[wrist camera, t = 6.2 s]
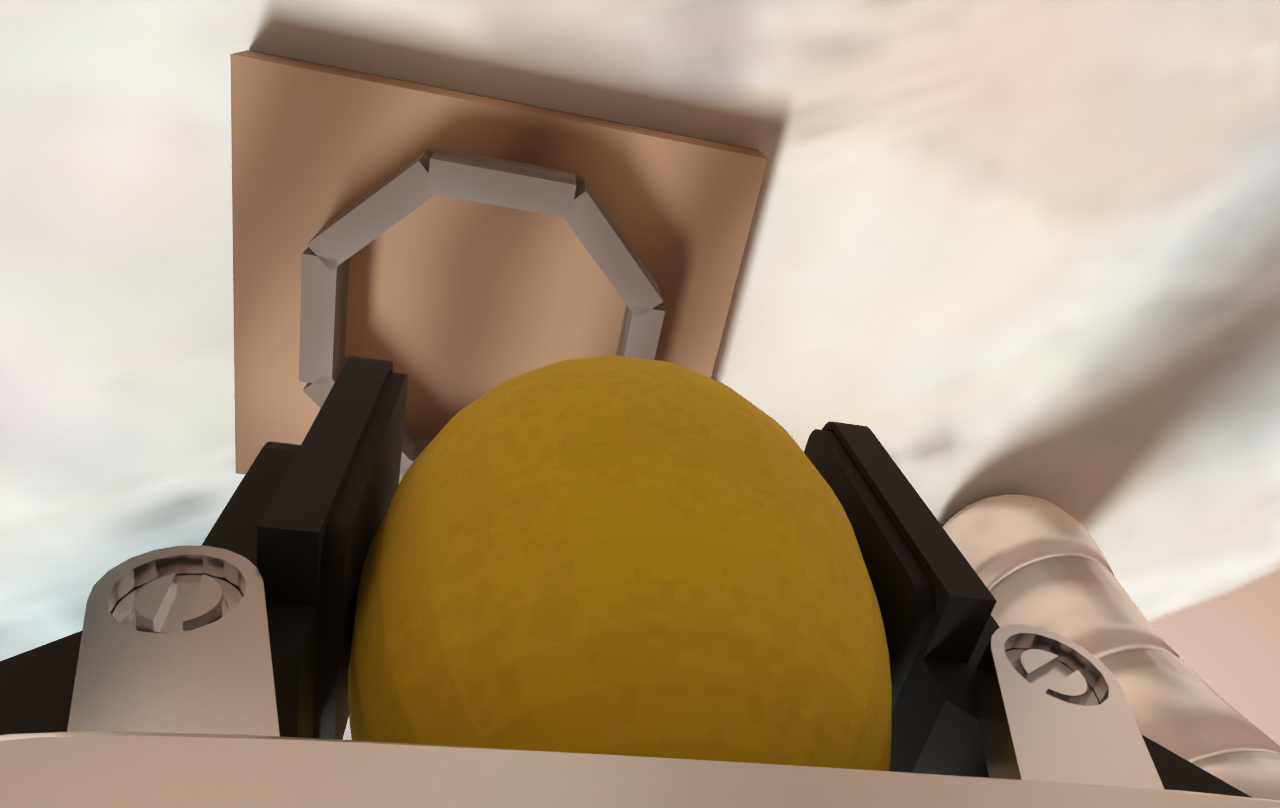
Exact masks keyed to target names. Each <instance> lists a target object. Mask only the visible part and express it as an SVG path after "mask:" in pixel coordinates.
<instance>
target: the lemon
mask: <svg viewBox="0 0 1280 808" xmlns="http://www.w3.org/2000/svg"><path fill="white" fill-rule="evenodd" d="M348 700H349V717H350V729H351V736H352V740H353V741H371V742H389V743H408V744H426V745H444V746H463V747H481V748H499V749H518V750H537V751H554V752H571V753H587V754H604V755H621V756H639V757H656V758H673V759H691V760H708V761H725V762H743V763H760V764H777V765H793V766H810V767H826V768H842V769H858V770H875V771H889V768H890V757H891V734H892V685H891V673H890V662H889V652H888V646H887V641H886V635H885V629H884V624H883V620H882V616H881V612H880V608H879V604H878V600H877V597H876V594H875V591H874V588H873V585H872V583H871V580H870V577H869V574H868V571H867V568H866V565H865V562H864V560H863V557H862V554H861V551H860V548H859V545H858V542H857V540H856V537H855V534H854V531H853V528H852V525H851V523H850V521H849V519H848V517H847V515H846V513H845V511H844V509H843V507H842V505H841V503H840V501H839V500H838V498H837V497H836V495H835V494H834V492H833V490H832V489H831V487H830V486H829V485H828V483H827V482H826V481H825V479H824V478H823V477H822V476H821V474H820V473H819V472H818V470H817V469H816V468H815V466H814V465H813V464H812V463H811V461H810V460H809V459H808V457H807V456H806V455H805V454H804V452H803V451H802V450H801V448H800V447H799V446H798V445H797V443H796V442H795V441H794V440H793V439H792V437H791V436H790V435H789V434H788V432H787V431H786V430H785V429H784V428H783V427H781V426H780V425H779V424H778V423H777V422H776V421H775V420H774V419H772V418H771V417H770V416H768V415H767V414H765V413H764V412H763V411H761V410H760V409H759V408H757V407H756V406H754V405H753V404H752V403H750V402H749V401H747V400H746V399H745V398H743V397H742V396H741V395H739V394H738V393H736V392H735V391H734V390H732V389H731V388H729V387H728V386H726V385H724V384H723V383H721V382H719V381H717V380H714V379H712V378H709V377H706V376H704V375H701V374H699V373H696V372H694V371H691V370H688V369H686V368H683V367H681V366H678V365H675V364H673V363H670V362H665V361H658V360H650V359H642V358H634V357H626V356H618V355H607V356H598V357H589V358H580V359H571V360H562V361H558V362H555V363H553V364H550V365H547V366H544V367H541V368H538V369H535V370H533V371H530V372H527V373H524V374H521V375H518V376H516V377H513V378H510V379H508V380H506V381H504V382H503V383H501V384H500V385H498V386H497V387H495V388H493V389H492V390H490V391H489V392H487V393H486V394H484V395H483V396H481V397H480V398H478V399H477V400H475V401H474V402H472V403H471V404H469V405H468V406H466V407H465V408H463V409H462V410H460V411H459V412H458V413H457V414H456V415H455V416H454V417H453V418H452V419H451V420H450V421H449V422H448V423H447V424H446V425H445V426H444V428H443V429H442V430H441V431H440V432H439V433H438V434H437V435H436V437H435V438H434V439H433V440H432V441H431V442H430V443H429V444H428V446H427V447H426V448H425V449H424V450H423V451H422V452H421V453H420V455H419V456H418V457H417V458H416V459H415V460H414V462H413V463H412V464H411V466H410V467H409V469H408V470H407V471H406V473H405V474H404V476H403V478H402V480H401V482H400V484H399V486H398V488H397V490H396V492H395V494H394V496H393V498H392V500H391V502H390V504H389V506H388V508H387V510H386V513H385V515H384V517H383V519H382V521H381V523H380V525H379V527H378V529H377V531H376V533H375V536H374V538H373V540H372V542H371V545H370V547H369V550H368V553H367V556H366V559H365V561H364V565H363V569H362V573H361V578H360V582H359V587H358V595H357V603H356V611H355V619H354V627H353V635H352V643H351V652H350V661H349V683H348Z"/></svg>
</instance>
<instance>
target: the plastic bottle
mask: <svg viewBox="0 0 1280 808" xmlns="http://www.w3.org/2000/svg"><path fill="white" fill-rule="evenodd" d="M943 529H944V530H945V531H946V533H947V534H948V535H949V537H950V538H951V540H952V541H953V542H954V544H955V545H956V546H957V548H958V549H959V550H960V552H961V553H962V554H963V556H964V557H965V558H966V560H967V561H968V563H969V564H970V565H971V567H972V568H973V569H974V571H975V572H976V573H977V575H978V576H979V577H980V579H981V580H982V582H983V583H984V584H985V586H986V587H987V588H988V590H989V591H990V592H991V594H992V595H993V596H994V598H995V599H996V601H997V602H996V604H995V606H994V608H993V610H992V612H991V615H992V617H993V618H994V620H995V621H996V623H997V624H998V625H999V627H1000V628H1001V627H1004V626H1006V625H1024V624H1025V625H1029V626H1034V627H1039V628H1043V629H1046V630H1048V631H1051V632H1053V633H1056V634H1059V635H1061V636H1063V637H1065V638H1067V639H1069V640H1071V641H1072V642H1074V643H1076V644H1078V645H1080V646H1082V647H1083V648H1084V649H1086V650H1087V651H1088V652H1090V653H1091V654H1092V655H1094V656H1095V657H1096V658H1098V659H1099V660H1100V661H1101V662H1102V663H1103V664H1104V665H1105V666H1106V667H1107V668H1108V669H1109V670H1110V671H1111V672H1112V673H1113V675H1114V676H1115V678H1116V680H1117V681H1118V683H1119V684H1120V686H1121V688H1122V690H1123V692H1124V695H1125V697H1126V699H1127V702H1128V704H1129V706H1130V709H1131V711H1132V714H1133V716H1134V718H1135V721H1136V723H1137V725H1138V728H1139V730H1140V732H1141V734H1142V735H1144V736H1145V737H1147V738H1149V739H1151V740H1152V741H1154V742H1156V743H1158V744H1159V745H1161V746H1163V747H1165V748H1166V749H1168V750H1170V751H1172V752H1173V753H1175V754H1177V755H1179V756H1180V757H1182V758H1184V759H1186V760H1187V761H1189V762H1191V763H1193V764H1194V765H1196V766H1198V767H1200V768H1202V769H1203V770H1205V771H1207V772H1209V773H1210V774H1212V775H1214V776H1216V777H1217V778H1219V779H1221V780H1223V781H1224V782H1226V783H1228V784H1230V785H1231V786H1233V787H1235V788H1237V789H1238V790H1240V791H1242V792H1244V793H1245V794H1247V795H1249V796H1251V797H1252V798H1260V799H1270V800H1280V746H1279V745H1277V744H1276V743H1275V742H1274V741H1273V740H1271V739H1270V738H1269V737H1268V736H1267V735H1265V734H1264V733H1263V732H1262V731H1261V730H1259V729H1258V728H1257V727H1256V726H1255V725H1253V724H1252V723H1251V722H1250V721H1249V720H1248V719H1246V718H1245V717H1244V716H1243V715H1242V714H1240V713H1239V712H1238V711H1237V710H1235V709H1234V708H1233V707H1232V706H1231V705H1230V704H1228V703H1227V702H1226V701H1224V700H1223V699H1222V698H1221V697H1220V696H1219V695H1218V694H1217V693H1216V692H1215V691H1214V690H1213V689H1212V688H1211V687H1210V686H1209V685H1208V684H1206V682H1205V681H1204V680H1203V679H1201V677H1200V676H1199V675H1198V674H1197V673H1196V672H1195V671H1193V669H1192V668H1191V667H1190V666H1188V665H1187V664H1186V663H1185V662H1184V661H1183V660H1182V659H1180V657H1179V655H1177V654H1176V652H1175V651H1173V650H1172V649H1171V648H1170V647H1169V646H1168V645H1167V644H1166V643H1165V642H1164V641H1163V640H1162V639H1161V638H1160V637H1159V635H1158V634H1157V633H1156V631H1155V630H1154V629H1153V627H1152V626H1151V625H1150V623H1149V622H1148V621H1147V619H1146V618H1145V617H1144V615H1143V614H1142V613H1141V611H1140V610H1139V609H1138V607H1137V606H1136V605H1135V603H1134V602H1133V601H1132V599H1131V598H1130V597H1129V595H1128V594H1127V593H1126V591H1125V590H1124V589H1123V587H1122V586H1121V585H1120V583H1119V582H1118V581H1117V579H1116V578H1115V577H1114V574H1113V572H1112V570H1111V568H1110V566H1109V564H1108V562H1107V561H1106V559H1105V557H1104V555H1103V553H1102V551H1101V550H1100V548H1099V547H1098V545H1097V544H1096V543H1095V541H1094V540H1093V538H1092V537H1091V535H1090V534H1089V532H1088V531H1087V529H1086V528H1085V527H1084V526H1083V525H1082V524H1081V523H1080V522H1079V521H1078V520H1076V519H1075V518H1073V517H1072V516H1071V515H1069V514H1068V513H1066V512H1065V511H1063V510H1062V509H1060V508H1059V507H1058V506H1056V505H1054V504H1053V503H1051V502H1049V501H1047V500H1045V499H1042V498H1038V497H1035V496H1027V495H1011V494H1007V495H996V496H992V497H988V498H984V499H982V500H979V501H977V502H974V503H972V504H970V505H968V506H967V507H965V508H963V509H962V510H960V511H959V512H958V513H956V514H955V515H954V516H953V517H951V518H950V519H949V520H948V521H947V522H946V523H945V525H944V526H943Z"/></svg>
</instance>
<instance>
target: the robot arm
mask: <svg viewBox="0 0 1280 808" xmlns="http://www.w3.org/2000/svg"><path fill="white" fill-rule="evenodd" d="M407 385H408V375H407V374H403V373H395V372H394V369H393V362H392V361H386V360H379V359H371V358H364V357H357V356H349V358H348V359H347V361H346V363H345V365H344V367H343V368H342V370H341V372H340V374H339V376H338V378H337V379H336V381H335V383H334V385H333V387H332V389H331V391H330V392H329V394H328V396H327V398H326V400H325V402H324V404H323V405H322V407H321V409H320V411H319V413H318V415H317V416H316V418H315V420H314V422H313V424H312V426H311V428H310V429H309V431H308V433H307V435H306V437H305V439H304V440H303V442H302V444H301V445H297V444H289V443H280V442H272V441H271V442H267V443H266V444H265V445H264V446H263V448H262V449H261V451H260V452H259V454H258V456H257V457H256V459H255V460H254V462H253V464H252V465H251V467H250V468H249V470H248V472H247V473H246V475H245V476H244V478H243V480H242V481H241V483H240V484H239V486H238V488H237V489H236V491H235V492H234V494H233V496H232V497H231V499H230V501H229V502H228V504H227V505H226V507H225V509H224V510H223V512H222V513H221V515H220V517H219V518H218V520H217V521H216V523H215V525H214V526H213V528H212V529H211V531H210V533H209V534H208V536H207V537H206V539H205V541H204V542H203V544H202V546H176V547H170V548H164V549H158V550H153V551H150V552H147V553H144V554H142V555H139V556H136V557H133V558H130V559H128V560H126V561H125V562H123V563H121V564H120V565H118V566H116V567H114V568H113V569H111V570H109V571H108V572H107V573H106V574H105V575H104V576H103V577H102V578H101V579H100V580H99V581H98V582H97V583H96V584H95V585H94V586H93V589H92V591H91V593H90V596H89V598H88V600H87V604H86V611H85V617H84V624H83V631H80V632H78V633H75V634H72V635H70V636H67V637H64V638H62V639H59V640H56V641H54V642H51V643H48V644H46V645H43V646H40V647H38V648H35V649H32V650H30V651H27V652H24V653H22V654H19V655H16V656H14V657H11V658H8V659H6V660H3V661H1V662H0V808H1280V800H1270V799H1260V798H1252V797H1251V796H1249V795H1247V794H1245V793H1244V792H1242V791H1240V790H1238V789H1237V788H1235V787H1233V786H1231V785H1230V784H1228V783H1226V782H1224V781H1223V780H1221V779H1219V778H1217V777H1216V776H1214V775H1212V774H1210V773H1209V772H1207V771H1205V770H1203V769H1202V768H1200V767H1198V766H1196V765H1194V764H1193V763H1191V762H1189V761H1187V760H1186V759H1184V758H1182V757H1180V756H1179V755H1177V754H1175V753H1173V752H1172V751H1170V750H1168V749H1166V748H1165V747H1163V746H1161V745H1159V744H1158V743H1156V742H1154V741H1152V740H1151V739H1149V738H1147V737H1145V736H1144V735H1142V734H1141V732H1140V730H1139V728H1138V725H1137V723H1136V721H1135V718H1134V716H1133V714H1132V711H1131V709H1130V706H1129V704H1128V702H1127V699H1126V697H1125V695H1124V692H1123V690H1122V688H1121V686H1120V684H1119V683H1118V681H1117V680H1116V678H1115V676H1114V675H1113V673H1112V672H1111V671H1110V670H1109V669H1108V668H1107V667H1106V666H1105V665H1104V664H1103V663H1102V662H1101V661H1100V660H1099V659H1098V658H1096V657H1095V656H1094V655H1092V654H1091V653H1090V652H1088V651H1087V650H1086V649H1084V648H1083V647H1082V646H1080V645H1078V644H1076V643H1074V642H1072V641H1071V640H1069V639H1067V638H1065V637H1063V636H1061V635H1059V634H1056V633H1053V632H1051V631H1048V630H1046V629H1043V628H1039V627H1034V626H1029V625H1025V624H1024V625H1006V626H1004V627H1001V628H1000V627H999V625H998V624H997V623H996V621H995V620H994V618H993V617H992V615H991V612H992V610H993V608H994V606H995V604H996V602H997V601H996V599H995V598H994V596H993V595H992V594H991V592H990V591H989V590H988V588H987V587H986V586H985V584H984V583H983V582H982V580H981V579H980V577H979V576H978V575H977V573H976V572H975V571H974V569H973V568H972V567H971V565H970V564H969V563H968V561H967V560H966V558H965V557H964V556H963V554H962V553H961V552H960V550H959V549H958V548H957V546H956V545H955V544H954V542H953V541H952V540H951V538H950V537H949V535H948V534H947V533H946V531H945V530H944V529H943V527H942V526H941V525H940V523H939V522H938V521H937V519H936V518H935V516H934V515H933V514H932V512H931V511H930V510H929V508H928V507H927V506H926V504H925V503H924V502H923V500H922V499H921V497H920V496H919V495H918V493H917V492H916V491H915V489H914V488H913V487H912V485H911V484H910V483H909V481H908V480H907V478H906V477H905V476H904V474H903V473H902V472H901V470H900V469H899V468H898V466H897V465H896V464H895V462H894V461H893V460H892V458H891V457H890V455H889V454H888V453H887V451H886V450H885V449H884V447H883V446H882V445H881V443H880V442H879V441H878V439H877V438H876V436H875V435H874V434H873V432H872V431H871V430H870V429H869V428H868V427H867V426H859V425H852V424H845V423H838V422H828V423H827V424H825V426H824V427H823V429H822V430H816V429H815V430H814V431H812V433H811V434H810V436H809V439H808V442H807V445H806V448H805V451H804V454H805V455H806V456H807V457H808V459H809V460H810V461H811V463H812V464H813V465H814V466H815V468H816V469H817V470H818V472H819V473H820V474H821V476H822V477H823V478H824V479H825V481H826V482H827V483H828V485H829V486H830V487H831V489H832V490H833V492H834V494H835V495H836V497H837V498H838V500H839V501H840V503H841V505H842V507H843V509H844V511H845V513H846V515H847V517H848V519H849V521H850V523H851V525H852V528H853V531H854V534H855V537H856V540H857V542H858V545H859V548H860V551H861V554H862V557H863V560H864V562H865V565H866V568H867V571H868V574H869V577H870V580H871V583H872V585H873V588H874V591H875V594H876V597H877V600H878V604H879V608H880V612H881V616H882V620H883V624H884V629H885V635H886V641H887V646H888V652H889V662H890V673H891V685H892V734H891V757H890V768H889V771H875V770H858V769H842V768H826V767H810V766H793V765H777V764H760V763H743V762H725V761H708V760H691V759H673V758H656V757H639V756H621V755H604V754H587V753H571V752H554V751H537V750H518V749H499V748H481V747H463V746H444V745H426V744H408V743H389V742H371V741H353V740H342V739H343V735H344V731H345V728H346V724H347V720H348V717H349V700H348V683H349V661H350V652H351V643H352V635H353V627H354V619H355V611H356V603H357V595H358V587H359V582H360V578H361V573H362V569H363V565H364V561H365V559H366V556H367V553H368V550H369V547H370V545H371V542H372V540H373V538H374V536H375V533H376V531H377V529H378V527H379V525H380V523H381V521H382V519H383V517H384V515H385V513H386V510H387V508H388V506H389V504H390V502H391V500H392V498H393V496H394V494H395V492H396V490H397V488H398V486H399V477H400V465H401V454H402V443H403V431H404V420H405V408H406V397H407Z"/></svg>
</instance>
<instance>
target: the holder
mask: <svg viewBox="0 0 1280 808" xmlns="http://www.w3.org/2000/svg"><path fill="white" fill-rule="evenodd" d="M231 121H232V202H233V283H234V364H235V445H236V473H238V474H246V473H247V472H248V470H249V468H250V467H251V465H252V464H253V462H254V460H255V459H256V457H257V456H258V454H259V452H260V451H261V449H262V448H263V446H264V445H265V444H266V443H267V442H271V441H272V442H280V443H289V444H297V445H301V444H302V442H303V440H304V439H305V437H306V435H307V433H308V431H309V429H310V428H311V426H312V424H313V422H314V420H315V418H316V416H317V415H318V413H319V411H320V409H321V407H322V405H323V404H324V402H325V400H326V398H327V396H328V394H329V392H330V391H331V389H332V387H333V385H334V383H335V381H336V379H337V378H338V376H339V374H340V372H341V370H342V368H343V367H344V365H345V363H346V361H347V359H348V358H349V356H357V357H364V358H371V359H379V360H386V361H392V362H393V369H394V372H395V373H403V374H407V375H408V385H407V397H406V408H405V420H404V431H403V443H402V454H401V465H400V477H399V484H400V482H401V480H402V478H403V476H404V474H405V473H406V471H407V470H408V469H409V467H410V466H411V464H412V463H413V462H414V460H415V459H416V458H417V457H418V456H419V455H420V453H421V452H422V451H423V450H424V449H425V448H426V447H427V446H428V444H429V443H430V442H431V441H432V440H433V439H434V438H435V437H436V435H437V434H438V433H439V432H440V431H441V430H442V429H443V428H444V426H445V425H446V424H447V423H448V422H449V421H450V420H451V419H452V418H453V417H454V416H455V415H456V414H457V413H458V412H459V411H460V410H462V409H463V408H465V407H466V406H468V405H469V404H471V403H472V402H474V401H475V400H477V399H478V398H480V397H481V396H483V395H484V394H486V393H487V392H489V391H490V390H492V389H493V388H495V387H497V386H498V385H500V384H501V383H503V382H504V381H506V380H508V379H510V378H513V377H516V376H518V375H521V374H524V373H527V372H530V371H533V370H535V369H538V368H541V367H544V366H547V365H550V364H553V363H555V362H558V361H562V360H571V359H580V358H589V357H598V356H607V355H618V356H626V357H634V358H642V359H650V360H658V361H665V362H670V363H673V364H675V365H678V366H681V367H683V368H686V369H688V370H691V371H694V372H696V373H699V374H701V375H704V376H706V377H709V378H711V376H712V372H713V369H714V365H715V361H716V357H717V353H718V349H719V345H720V342H721V338H722V334H723V330H724V326H725V322H726V319H727V315H728V311H729V307H730V303H731V299H732V295H733V292H734V288H735V284H736V280H737V276H738V272H739V269H740V265H741V261H742V257H743V253H744V249H745V245H746V242H747V238H748V234H749V230H750V226H751V222H752V219H753V215H754V211H755V207H756V203H757V199H758V195H759V192H760V188H761V184H762V180H763V176H764V172H765V169H766V165H767V161H768V159H767V158H766V157H765V156H764V155H763V154H762V153H760V152H759V151H758V150H754V149H748V148H743V147H738V146H733V145H728V144H723V143H718V142H713V141H708V140H703V139H697V138H692V137H687V136H682V135H677V134H672V133H667V132H662V131H657V130H652V129H646V128H641V127H636V126H631V125H626V124H621V123H616V122H611V121H606V120H601V119H595V118H590V117H585V116H580V115H575V114H570V113H565V112H560V111H555V110H550V109H544V108H539V107H534V106H529V105H524V104H519V103H514V102H509V101H504V100H499V99H493V98H488V97H483V96H478V95H473V94H468V93H463V92H458V91H453V90H448V89H442V88H437V87H432V86H427V85H422V84H417V83H412V82H407V81H402V80H397V79H391V78H386V77H381V76H376V75H371V74H366V73H361V72H356V71H351V70H346V69H340V68H335V67H330V66H325V65H320V64H315V63H310V62H305V61H300V60H295V59H290V58H284V57H279V56H274V55H269V54H264V53H259V52H254V51H249V50H247V51H243V52H239V53H234V54H231Z"/></svg>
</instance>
